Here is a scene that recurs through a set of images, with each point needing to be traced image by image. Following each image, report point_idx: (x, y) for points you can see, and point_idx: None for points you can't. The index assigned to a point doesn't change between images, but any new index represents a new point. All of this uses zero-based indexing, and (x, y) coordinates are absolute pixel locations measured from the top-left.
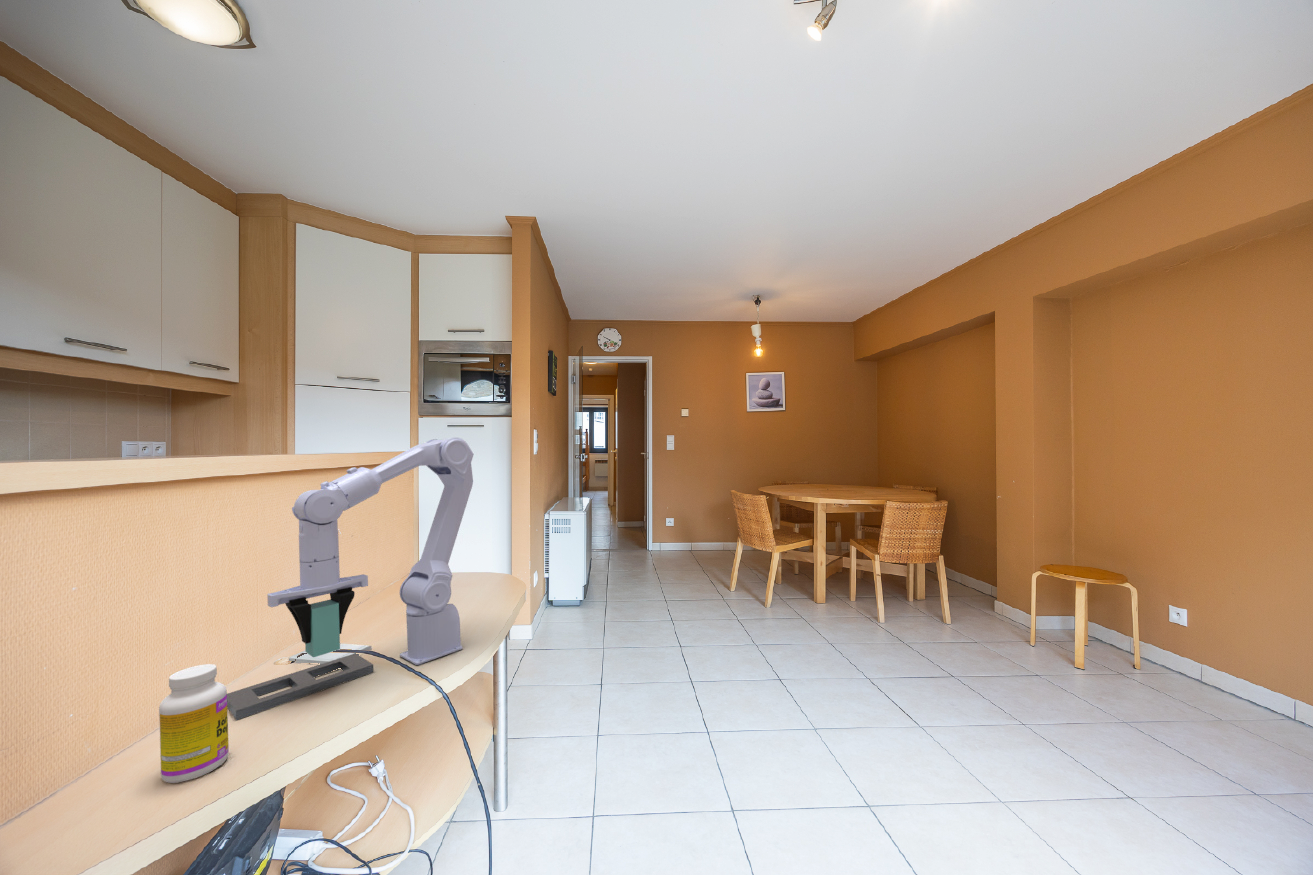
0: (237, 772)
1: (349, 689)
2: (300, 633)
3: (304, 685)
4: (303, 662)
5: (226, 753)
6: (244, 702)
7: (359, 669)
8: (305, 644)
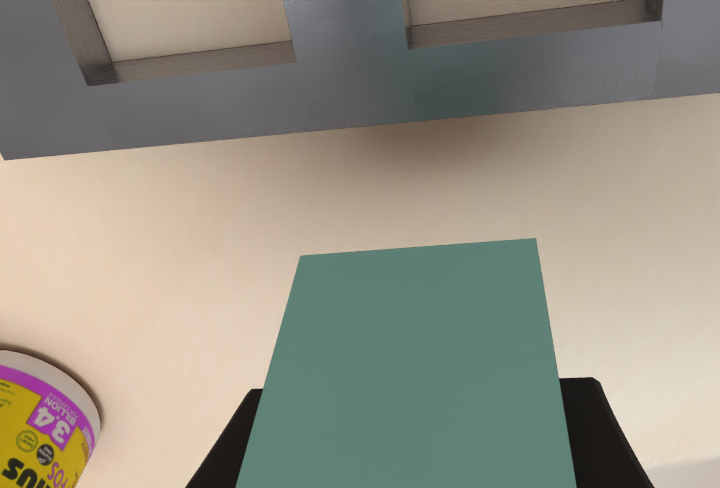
0: (150, 481)
1: (554, 204)
2: (210, 451)
3: (331, 91)
4: None
5: (94, 446)
6: (13, 72)
7: (697, 90)
8: (287, 305)
